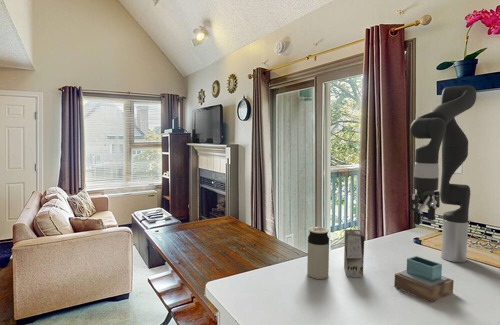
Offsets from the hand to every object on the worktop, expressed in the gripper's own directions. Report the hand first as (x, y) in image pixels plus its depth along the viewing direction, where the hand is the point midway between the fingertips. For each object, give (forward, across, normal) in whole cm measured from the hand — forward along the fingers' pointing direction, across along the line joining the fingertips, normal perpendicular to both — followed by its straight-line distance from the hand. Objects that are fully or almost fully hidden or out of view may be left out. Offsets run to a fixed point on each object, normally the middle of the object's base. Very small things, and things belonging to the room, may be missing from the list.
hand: (424, 221), depth 108 cm
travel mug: (+24, -26, +25) cm, 43 cm away
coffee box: (+24, -12, +20) cm, 33 cm away
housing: (+18, -2, -2) cm, 19 cm away
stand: (+23, -2, -2) cm, 24 cm away
